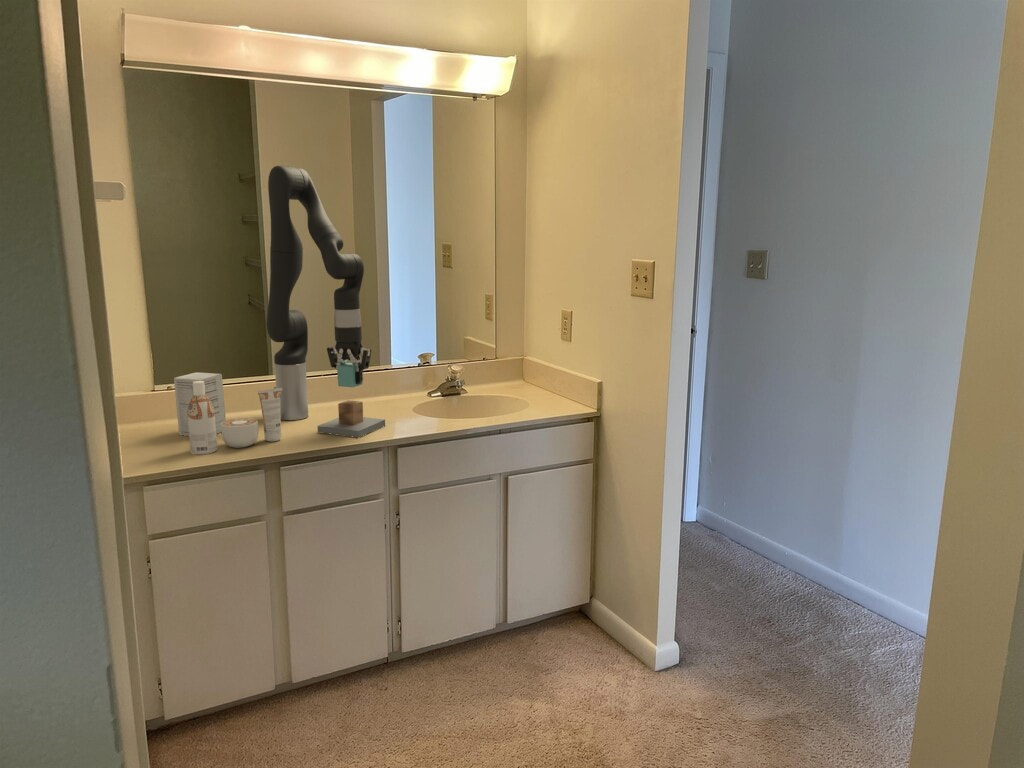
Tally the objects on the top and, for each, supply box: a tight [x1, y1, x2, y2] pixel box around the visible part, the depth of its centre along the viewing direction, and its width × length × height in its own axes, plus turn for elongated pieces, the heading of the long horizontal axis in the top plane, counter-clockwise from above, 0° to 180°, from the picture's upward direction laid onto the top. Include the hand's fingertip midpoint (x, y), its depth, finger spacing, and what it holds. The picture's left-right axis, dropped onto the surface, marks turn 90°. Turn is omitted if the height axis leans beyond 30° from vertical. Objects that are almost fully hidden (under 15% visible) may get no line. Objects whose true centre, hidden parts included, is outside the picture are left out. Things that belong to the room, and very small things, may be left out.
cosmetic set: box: [187, 381, 282, 455], centre depth 199 cm, size 25×9×19 cm, turn 127°
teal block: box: [336, 362, 364, 388], centre depth 214 cm, size 5×5×6 cm
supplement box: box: [173, 372, 227, 437], centre depth 211 cm, size 10×9×17 cm
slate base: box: [316, 416, 386, 438], centre depth 217 cm, size 14×14×2 cm
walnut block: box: [337, 399, 364, 425], centre depth 217 cm, size 5×5×6 cm
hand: (350, 382), depth 215 cm, fingers closed on teal block, 5 cm apart
